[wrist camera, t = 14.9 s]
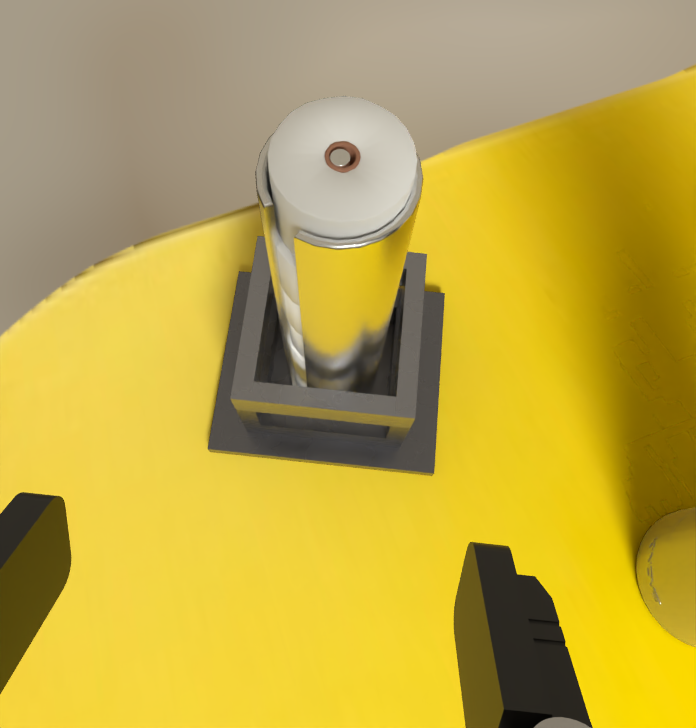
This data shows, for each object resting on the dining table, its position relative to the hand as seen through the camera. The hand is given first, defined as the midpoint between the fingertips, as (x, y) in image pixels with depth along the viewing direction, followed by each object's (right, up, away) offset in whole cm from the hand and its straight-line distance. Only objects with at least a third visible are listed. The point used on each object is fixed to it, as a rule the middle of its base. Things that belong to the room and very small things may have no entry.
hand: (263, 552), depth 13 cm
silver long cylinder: (+1, +3, +35) cm, 35 cm away
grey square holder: (0, +3, +36) cm, 36 cm away
